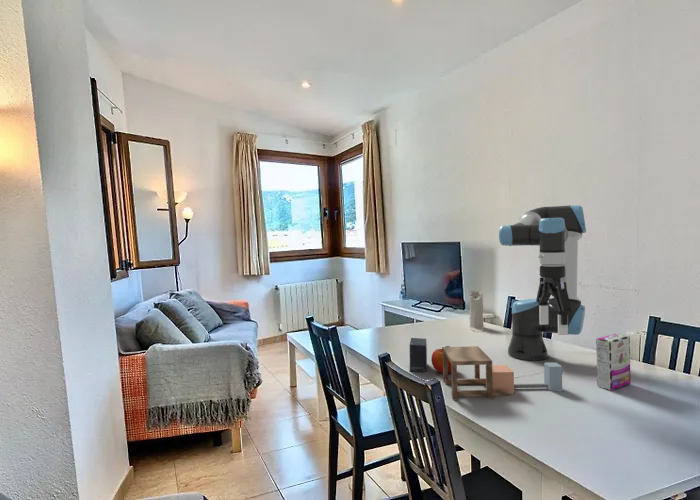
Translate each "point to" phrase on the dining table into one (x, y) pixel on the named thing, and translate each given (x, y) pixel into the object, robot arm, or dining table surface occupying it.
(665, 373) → the dining table surface
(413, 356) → the small box
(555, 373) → the block barbell
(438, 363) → the fruit
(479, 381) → the shelf
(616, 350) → the candy bar box
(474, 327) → the beige paper bag
